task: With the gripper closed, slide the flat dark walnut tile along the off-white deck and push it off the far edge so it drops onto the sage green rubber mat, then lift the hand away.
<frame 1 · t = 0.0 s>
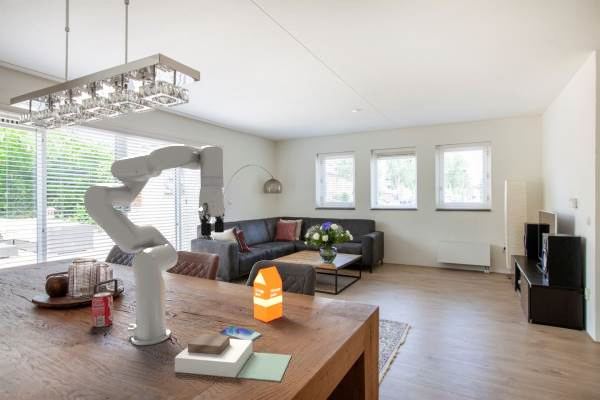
hand: (213, 233, 109), 37 cm above the table, tool pointing down, fingers open, 9 cm apart
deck: (215, 361, 96), on the table
mat: (265, 366, 93), on the table
walnut tile: (209, 348, 96), point 4 cm above the table, touching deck
orange juice: (268, 317, 132), on the table
soda can: (102, 325, 126), on the table
smartphone: (240, 335, 116), on the table
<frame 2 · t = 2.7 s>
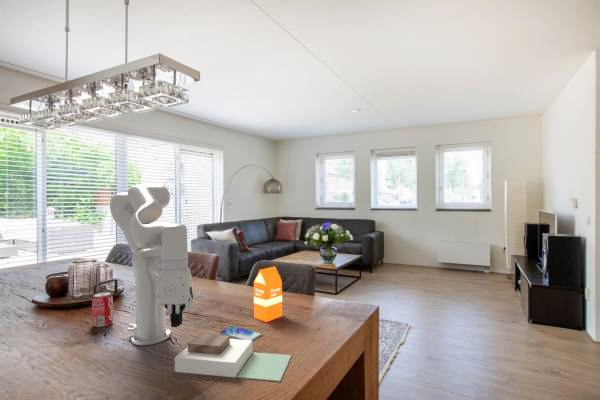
hand: (176, 325, 98), 10 cm above the table, tool pointing down, fingers closed
nothing on the table moved.
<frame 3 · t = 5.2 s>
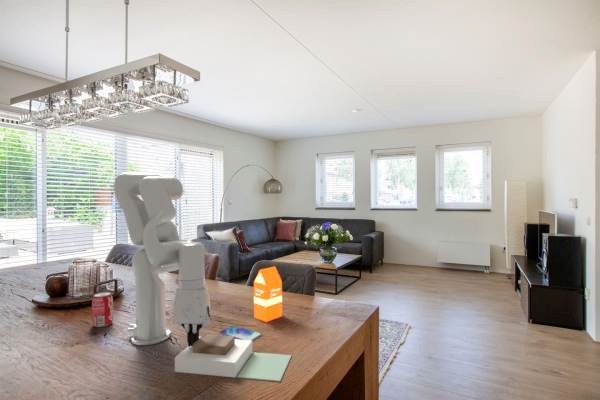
hand: (193, 344, 97), 5 cm above the table, tool pointing down, fingers closed
walnut tile: (214, 348, 96), point 4 cm above the table, touching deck, gripper
everything else where it was.
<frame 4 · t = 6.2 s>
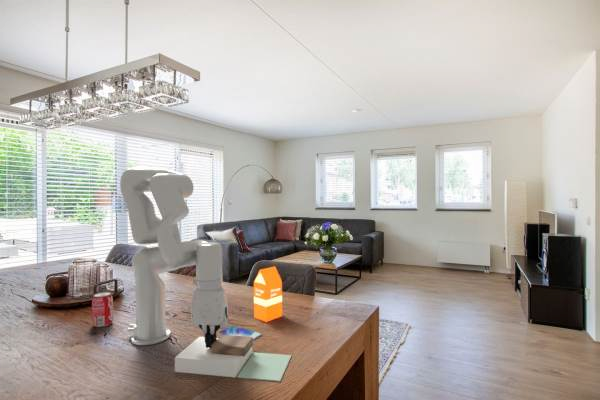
hand: (210, 345, 96), 5 cm above the table, tool pointing down, fingers closed
walnut tile: (232, 349, 95), point 4 cm above the table, touching gripper
everything else where it was.
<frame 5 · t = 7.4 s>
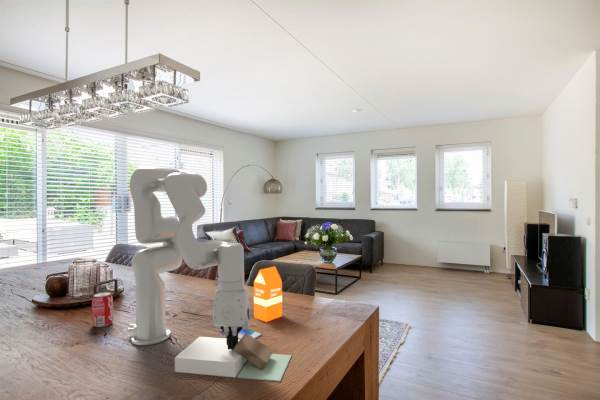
hand: (232, 347, 95), 5 cm above the table, tool pointing down, fingers closed
walnut tile: (252, 354, 95), point 3 cm above the table, tilted 30°, touching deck, mat
everything else where it was.
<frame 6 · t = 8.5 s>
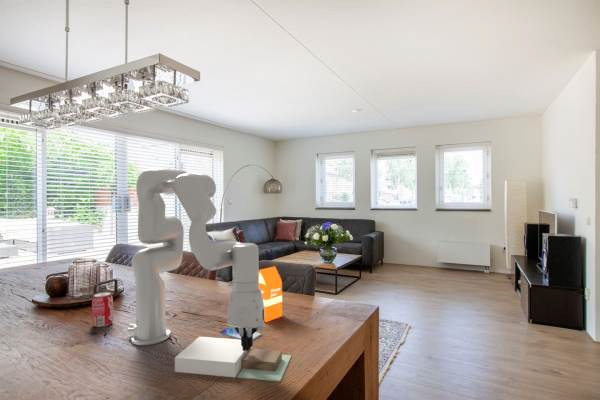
hand: (247, 348, 94), 5 cm above the table, tool pointing down, fingers closed
walnut tile: (262, 363, 94), resting on mat
everything else where it was.
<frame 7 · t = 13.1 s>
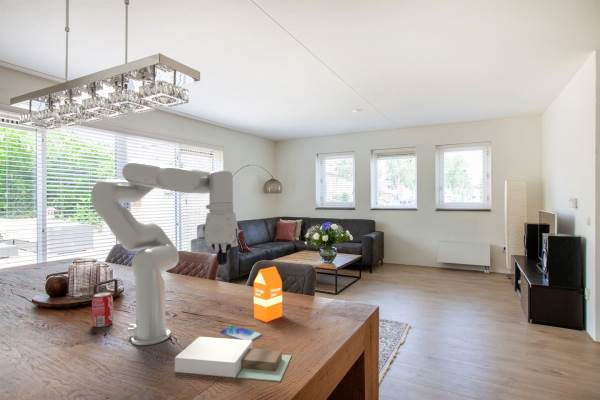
hand: (222, 264, 106), 27 cm above the table, tool pointing down, fingers closed
nothing on the table moved.
at the end: walnut tile inside the target area on the mat (1.6 cm from its centre), point 0.3 cm above the mat's base; walnut tile resting on mat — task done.
